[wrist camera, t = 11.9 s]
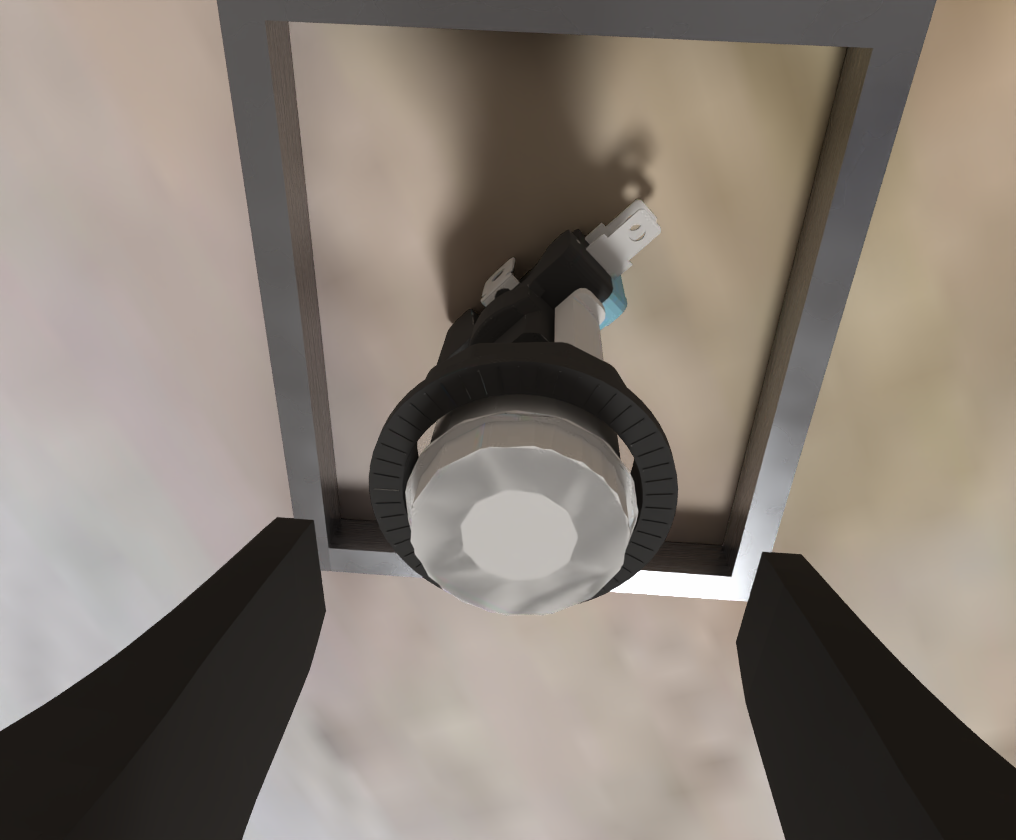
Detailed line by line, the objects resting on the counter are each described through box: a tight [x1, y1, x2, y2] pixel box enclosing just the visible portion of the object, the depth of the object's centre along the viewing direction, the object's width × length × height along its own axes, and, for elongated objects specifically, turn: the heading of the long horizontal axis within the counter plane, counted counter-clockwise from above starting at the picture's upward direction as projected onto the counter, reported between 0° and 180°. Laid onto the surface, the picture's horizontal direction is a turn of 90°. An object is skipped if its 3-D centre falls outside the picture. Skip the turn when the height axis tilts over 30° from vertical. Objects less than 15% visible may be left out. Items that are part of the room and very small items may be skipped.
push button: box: [369, 199, 678, 615], centre depth 16 cm, size 7×5×10 cm
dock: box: [217, 0, 936, 601], centre depth 20 cm, size 15×17×2 cm
